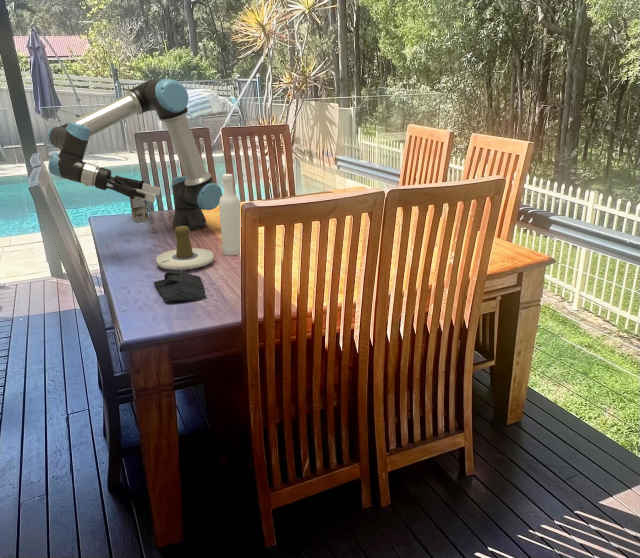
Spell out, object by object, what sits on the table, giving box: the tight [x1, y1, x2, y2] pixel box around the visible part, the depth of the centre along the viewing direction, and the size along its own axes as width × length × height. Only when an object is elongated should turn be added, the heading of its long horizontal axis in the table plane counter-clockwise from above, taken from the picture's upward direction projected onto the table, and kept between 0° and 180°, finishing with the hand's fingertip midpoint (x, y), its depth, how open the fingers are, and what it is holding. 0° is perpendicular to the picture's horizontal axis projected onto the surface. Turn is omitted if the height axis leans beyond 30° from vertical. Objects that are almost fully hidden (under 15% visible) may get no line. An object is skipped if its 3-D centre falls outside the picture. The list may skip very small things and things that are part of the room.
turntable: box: [155, 247, 215, 270], centre depth 189 cm, size 20×20×2 cm
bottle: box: [218, 173, 241, 256], centre depth 197 cm, size 8×8×30 cm
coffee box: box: [129, 188, 149, 223], centre depth 248 cm, size 9×6×16 cm
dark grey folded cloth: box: [153, 269, 207, 303], centre depth 166 cm, size 15×22×5 cm
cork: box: [174, 226, 194, 259], centre depth 187 cm, size 6×6×11 cm
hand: (157, 195), depth 190 cm, fingers open, 13 cm apart
